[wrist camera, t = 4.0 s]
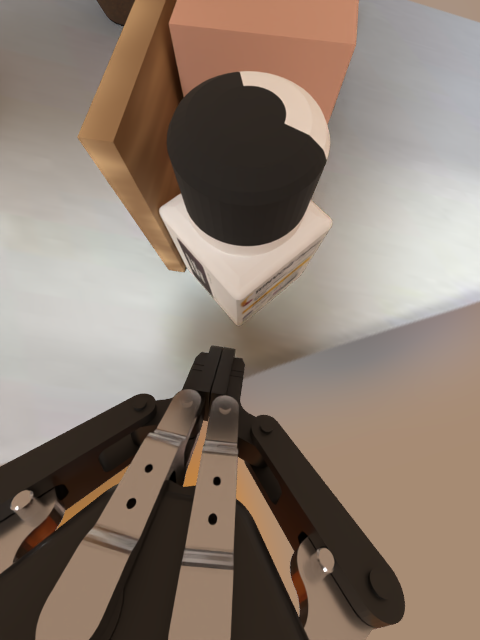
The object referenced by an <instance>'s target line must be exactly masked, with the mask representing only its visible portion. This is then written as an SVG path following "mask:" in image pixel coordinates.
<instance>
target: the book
mask: <svg viewBox="0 0 480 640" xmlns="http://www.w3.org/2000/svg"><path fill="white" fill-rule="evenodd" d="M358 3H359V0H177V1H176V4H175V7H174V10H173V13H172V16H171V18H170V21H169V28H170V33H171V38H172V43H173V47H174V52H175V57H176V62H177V67H178V72H179V77H180V82H181V87H182V92H183V97H185V96H186V94H188V93H189V92H190V91H191V90H192V89H193V88H195V87H196V86H198V85H199V84H201V83H202V82H204V81H206V80H208V79H211V78H213V77H216V76H219V75H222V74H226V73H232V72H240V71H256V72H264V73H269V74H273V75H277V76H280V77H283V78H285V79H287V80H289V81H291V82H293V83H295V84H297V85H298V86H300V87H301V88H303V89H304V90H305V91H306V92H308V93H309V94H310V95H311V96H312V97H313V99H314V100H315V101H316V102H317V104H318V105H319V107H320V108H321V111H322V113H323V115H324V117H325V120H326V123H327V125H328V122H329V119H330V116H331V114H332V111H333V108H334V105H335V102H336V100H337V97H338V94H339V91H340V88H341V85H342V83H343V80H344V77H345V74H346V71H347V68H348V66H349V63H350V60H351V57H352V54H353V52H354V49H355V46H356V36H357V20H358Z"/></svg>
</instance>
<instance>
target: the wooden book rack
mask: <svg viewBox="0 0 480 640" xmlns="http://www.w3.org/2000/svg"><path fill="white" fill-rule="evenodd" d="M176 1H177V0H135V2H134V4H133V7H132V9H131V11H130V14H129V16H128V18H127V21H126V23H125V25H124V28H123V30H122V33H121V35H120V37H119V40H118V42H117V44H116V47H115V49H114V52H113V54H112V56H111V59H110V61H109V63H108V66H107V68H106V71H105V73H104V75H103V78H102V80H101V82H100V85H99V87H98V90H97V92H96V94H95V97H94V99H93V101H92V104H91V106H90V108H89V111H88V113H87V116H86V118H85V120H84V123H83V125H82V127H81V130H80V132H79V135H78V137H77V138H78V139H79V140H80V142H81V143H82V145H83V146H84V148H85V149H86V151H87V152H88V153H89V155H90V156H91V158H92V159H93V161H94V162H95V164H96V165H97V167H98V168H99V169H100V171H101V172H102V174H103V175H104V177H105V178H106V180H107V181H108V182H109V184H110V185H111V187H112V188H113V190H114V191H115V193H116V194H117V196H118V197H119V198H120V200H121V201H122V203H123V204H124V206H125V207H126V209H127V210H128V211H129V213H130V214H131V216H132V217H133V219H134V220H135V222H136V223H137V225H138V226H139V227H140V229H141V230H142V232H143V233H144V235H145V236H146V238H147V239H148V240H149V242H150V243H151V245H152V246H153V248H154V249H155V251H156V252H157V254H158V255H159V256H160V258H161V259H162V261H163V262H164V264H165V265H166V267H167V268H168V269H169V270H173V271H179V272H185V268H186V265H185V263H184V261H183V259H182V257H181V255H180V253H179V251H178V249H177V247H176V246H175V244H174V242H173V240H172V238H171V236H170V234H169V232H168V230H167V228H166V226H165V224H164V222H163V220H162V218H161V216H160V213H159V209H160V207H161V206H163V205H164V204H166V203H167V202H169V201H170V200H172V199H173V198H175V197H176V196H177V195H179V194H180V193H181V191H180V188H179V185H178V182H177V179H176V176H175V173H174V170H173V167H172V164H171V161H170V158H169V155H168V151H167V143H166V142H167V131H168V127H169V124H170V121H171V119H172V116H173V114H174V112H175V110H176V108H177V106H178V105H179V103H180V101H181V100H182V99H183V98H184V97H183V92H182V87H181V82H180V77H179V72H178V67H177V62H176V57H175V52H174V47H173V43H172V38H171V33H170V28H169V21H170V18H171V16H172V13H173V10H174V7H175V4H176Z"/></svg>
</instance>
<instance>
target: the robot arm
mask: <svg viewBox="0 0 480 640" xmlns="http://www.w3.org/2000/svg"><path fill="white" fill-rule="evenodd" d="M234 356H235V349H232V348H226V347H224V348H223V347H219V346H213V345H212V346H211V348H210V351H209V353H204V352H201V353H200V354H199V355H198V356H197V357H196V358H195V361H194V363H193V365H192V368H191V370H190V372H189V375H188V377H187V379H186V382H185V384H184V386H183V389H182V391H180V392H178V393H177V394H176V395H175V396H174V397H173V398H170V399H166V400H157V401H155V399H154V397H153V396H151V395H149V394H138V395H136V396H133V397H132V398H130V399H128V400H126V401H124V402H122V403H120V404H118V405H116V406H115V407H113V408H111V409H109V410H107V411H105V412H103V413H101V414H99V415H97V416H96V417H94V418H92V419H90V420H88V421H86V422H84V423H82V424H80V425H79V426H77V427H75V428H73V429H71V430H69V431H67V432H65V433H63V434H62V435H60V436H58V437H56V438H54V439H52V440H50V441H48V442H46V443H44V444H43V445H41V446H39V447H37V448H35V449H33V450H31V451H29V452H27V453H26V454H24V455H22V456H20V457H18V458H16V459H14V460H12V461H10V462H8V463H7V464H5V465H3V466H1V467H0V640H366V638H367V637H368V635H369V633H370V632H371V630H373V629H377V628H381V627H385V626H389V625H393V624H396V623H398V622H399V621H400V620H401V619H402V617H403V615H404V611H405V601H404V595H403V591H402V588H401V585H400V583H399V581H398V579H397V577H396V575H395V573H394V572H393V570H392V569H391V567H390V566H389V565H388V564H387V562H386V561H385V560H384V558H383V557H382V556H381V555H380V553H379V552H378V551H377V549H376V548H375V547H374V546H373V544H372V543H371V542H370V540H369V539H368V538H367V537H366V535H365V534H364V533H363V531H362V530H361V529H360V528H359V526H358V525H357V524H356V522H355V521H354V520H353V519H352V517H351V516H350V515H349V513H348V512H347V511H346V510H345V508H344V507H343V506H342V504H341V503H340V502H339V501H338V499H337V498H336V497H335V495H334V494H333V493H332V491H331V490H330V489H329V488H328V486H327V485H326V484H325V482H324V481H323V480H322V479H321V477H320V476H319V475H318V473H317V472H316V471H315V470H314V468H313V467H312V466H311V464H310V463H309V462H308V461H307V459H306V458H305V457H304V455H303V454H302V453H301V452H300V450H299V449H298V448H297V446H296V445H295V444H294V442H293V441H292V440H291V439H290V437H289V436H288V435H287V433H286V432H285V431H284V430H283V428H282V427H281V426H280V424H279V423H278V422H277V421H276V420H275V419H274V418H272V417H271V416H268V415H260V416H257V417H255V416H253V415H251V414H249V413H247V412H246V411H245V410H244V409H243V408H242V406H241V403H240V396H241V389H242V382H243V375H244V367H245V364H244V362H243V359H241V358H235V357H234ZM208 419H209V422H208V428H207V433H206V439H205V444H204V446H203V451H202V456H201V461H200V467H199V472H198V478H197V484H196V486H189V487H183V484H184V479H185V474H186V471H187V468H188V465H189V462H190V459H191V456H192V454H193V451H194V448H195V445H196V443H197V440H198V437H199V434H200V430H201V427H202V423H203V420H204V421H208ZM238 457H239V458H241V459H243V460H244V461H245V464H246V466H247V468H248V470H249V472H250V473H251V475H252V477H253V479H254V480H255V482H256V484H257V486H258V487H259V489H260V491H261V493H262V495H263V496H264V498H265V500H266V502H267V503H268V505H269V507H270V509H271V510H272V512H273V514H274V516H275V518H276V519H277V521H278V523H279V525H280V527H281V528H282V530H283V532H284V534H285V535H286V537H287V539H288V541H289V543H290V544H291V546H292V548H293V550H294V551H295V552H294V554H293V555H292V558H291V562H290V573H291V578H292V582H293V585H294V587H295V590H296V592H297V595H298V599H299V608H300V615H299V617H298V614H297V612H296V610H295V608H294V605H293V603H292V601H291V599H290V597H289V595H288V592H287V591H286V588H285V586H284V584H283V582H282V580H281V577H280V575H279V573H278V571H277V569H276V567H275V565H274V562H273V560H272V558H271V556H270V554H269V551H268V549H267V547H266V545H265V543H264V541H263V539H262V536H261V534H260V532H259V530H258V528H257V525H256V523H255V521H254V520H253V517H252V516H251V514H250V513H249V511H248V510H247V509H246V507H245V506H244V505H243V504H242V503H241V502H239V501H238V500H237V499H236V484H237V463H238ZM128 465H130V466H129V467H128V469H127V471H126V473H125V474H124V476H123V478H122V479H121V481H120V483H119V484H117V485H115V486H113V487H112V488H110V489H108V490H107V491H106V492H104V493H103V494H102V495H100V496H99V497H98V498H97V499H95V500H94V501H93V502H91V503H90V504H89V505H88V506H86V507H85V508H84V509H82V510H81V511H80V512H79V513H77V514H76V515H75V516H73V517H72V518H71V519H70V520H68V521H67V522H66V523H65V524H63V525H62V526H61V527H59V528H58V529H57V527H58V525H59V524H60V522H61V520H62V518H63V515H64V512H65V510H67V509H68V508H70V507H71V506H72V505H74V504H75V503H76V502H78V501H79V500H81V499H82V498H84V497H85V496H86V495H88V494H89V493H90V492H92V491H93V490H95V489H96V488H98V487H99V486H100V485H102V484H103V483H104V482H106V481H107V480H108V479H110V478H111V477H113V476H114V475H115V474H117V473H118V472H120V471H121V470H123V469H124V468H125V467H127V466H128ZM56 529H57V530H56ZM55 530H56V531H55Z"/></svg>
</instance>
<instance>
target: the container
mask: <svg viewBox="0 0 480 640" xmlns="http://www.w3.org/2000/svg"><path fill="white" fill-rule="evenodd" d="M166 143H167V151H168V155H169V158H170V161H171V164H172V167H173V170H174V173H175V176H176V179H177V182H178V185H179V188H180V191H181V193H180V194H179V195H177V196H176V197H175V198H173V199H172V200H170V201H169V202H167V203H166V204H164V205H163V206H161V207H160V209H159V213H160V216H161V218H162V220H163V222H164V224H165V226H166V228H167V230H168V232H169V234H170V236H171V238H172V240H173V242H174V244H175V246H176V247H177V249H178V251H179V253H180V255H181V257H182V259H183V261H184V263H185V265H186V267H187V269H188V270H189V271H190V272H191V273H192V274H193V276H194V277H195V278H196V279H197V280H198V281H199V283H200V284H201V285H202V286H203V287H204V288H205V290H206V291H207V292H208V293H209V294H210V295H211V296H212V298H213V299H214V300H215V301H216V302H217V303H218V305H219V306H220V307H221V308H222V309H223V310H224V311H225V313H226V314H227V315H228V316H229V317H230V318H231V320H232V321H233V322H234V323H235V324H236V325H238V326H240V325H242V324H243V323H245V322H246V321H247V320H248V319H249V318H251V317H252V316H253V315H254V314H255V313H257V312H258V311H259V310H260V309H261V308H263V307H264V306H265V305H266V304H267V303H269V302H270V301H271V300H272V299H273V298H275V297H276V296H277V295H278V294H279V293H281V292H282V291H283V290H284V289H285V288H287V287H288V286H289V285H290V284H291V283H293V282H294V281H295V280H296V279H297V278H299V277H300V276H301V274H302V273H303V271H304V269H305V268H306V266H307V265H308V263H309V261H310V260H311V258H312V257H313V255H314V253H315V252H316V250H317V249H318V247H319V246H320V244H321V242H322V241H323V239H324V238H325V236H326V234H327V233H328V231H329V230H330V228H331V226H332V219H331V218H330V217H329V216H328V215H327V214H326V213H325V212H323V211H322V210H321V209H320V208H319V207H318V206H317V205H316V204H315V203H314V202H313V201H312V200H311V198H312V195H313V193H314V191H315V188H316V186H317V183H318V181H319V178H320V176H321V174H322V171H323V169H324V166H325V164H326V161H327V158H328V155H329V150H330V133H329V130H328V126H327V123H326V120H325V117H324V115H323V113H322V111H321V108H320V107H319V105H318V104H317V102H316V101H315V100H314V99H313V97H312V96H311V95H310V94H309V93H308V92H306V91H305V90H304V89H303V88H301V87H300V86H298V85H297V84H295V83H293V82H291V81H289V80H287V79H285V78H283V77H280V76H277V75H273V74H269V73H264V72H256V71H240V72H232V73H226V74H222V75H219V76H216V77H213V78H211V79H208V80H206V81H204V82H202V83H201V84H199V85H198V86H196V87H195V88H193V89H192V90H191V91H190V92H189V93H188V94H186V96H185V97H184V98H183V99H182V100H181V101H180V103H179V105H178V106H177V108H176V110H175V112H174V114H173V116H172V119H171V121H170V124H169V127H168V131H167V142H166Z"/></svg>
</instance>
